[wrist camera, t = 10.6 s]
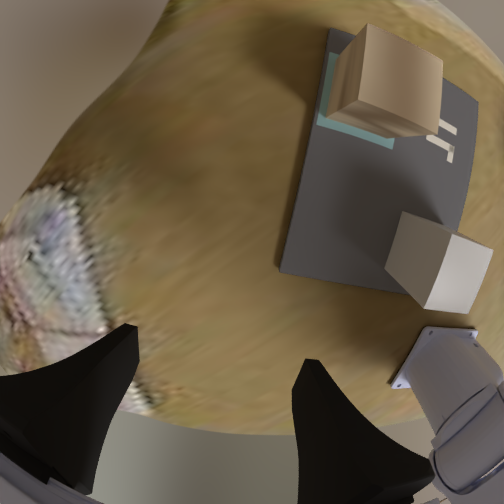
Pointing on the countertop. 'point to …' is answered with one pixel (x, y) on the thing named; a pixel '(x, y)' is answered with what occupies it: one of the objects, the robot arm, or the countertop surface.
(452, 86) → the mat
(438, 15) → the countertop surface
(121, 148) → the countertop surface
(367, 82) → the maple block
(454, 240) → the grey block
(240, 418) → the countertop surface
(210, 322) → the countertop surface
